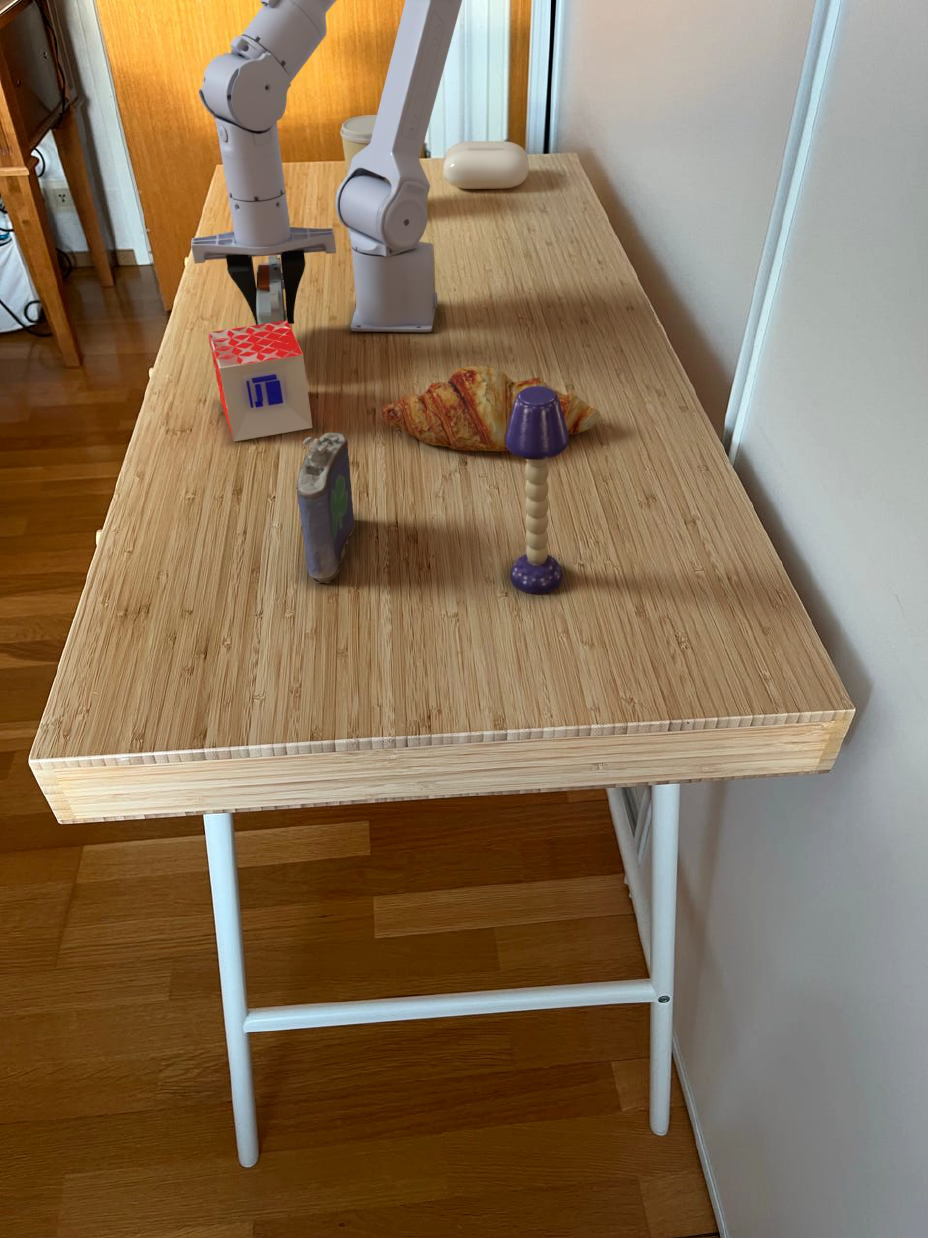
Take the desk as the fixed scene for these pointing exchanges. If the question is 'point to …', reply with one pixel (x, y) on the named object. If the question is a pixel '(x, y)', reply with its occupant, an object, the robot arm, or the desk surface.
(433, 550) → the desk surface
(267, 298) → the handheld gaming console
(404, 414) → the croissant
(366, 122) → the coffee cup
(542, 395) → the toy lamp
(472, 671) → the desk surface
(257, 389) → the white and red cube
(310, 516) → the flask
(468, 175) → the earbud case
